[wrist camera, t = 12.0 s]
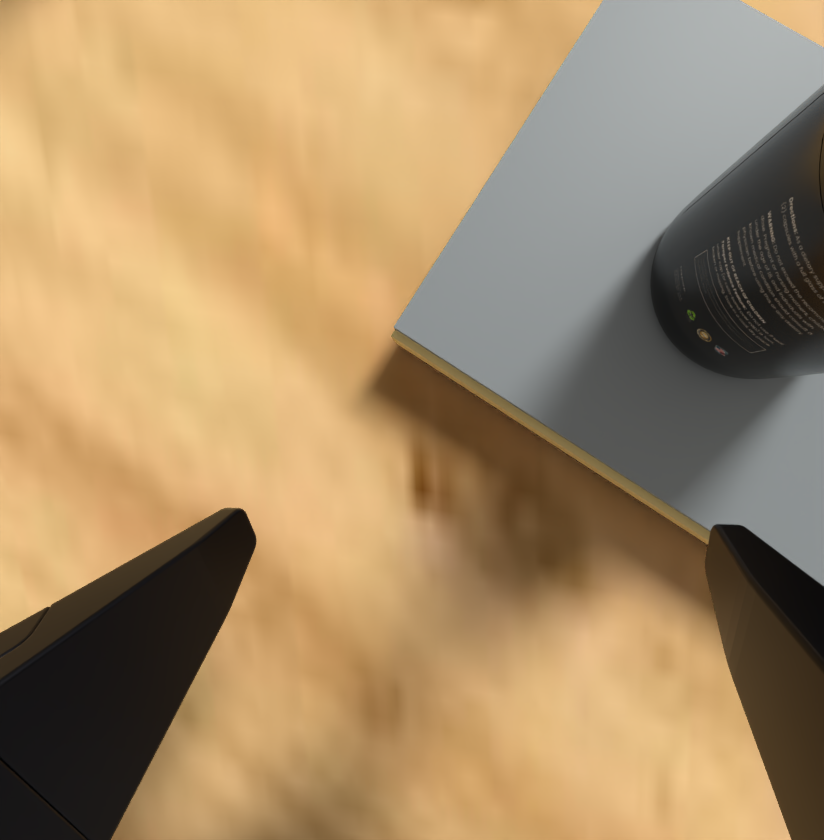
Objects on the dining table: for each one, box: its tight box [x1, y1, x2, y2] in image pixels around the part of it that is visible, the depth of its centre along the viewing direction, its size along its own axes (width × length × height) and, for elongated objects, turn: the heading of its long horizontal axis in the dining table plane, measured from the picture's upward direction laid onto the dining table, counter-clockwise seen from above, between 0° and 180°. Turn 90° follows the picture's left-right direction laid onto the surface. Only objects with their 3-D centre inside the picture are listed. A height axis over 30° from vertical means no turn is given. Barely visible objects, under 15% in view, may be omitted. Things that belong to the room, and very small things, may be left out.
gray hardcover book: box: [391, 0, 824, 586], centre depth 18 cm, size 16×20×3 cm
